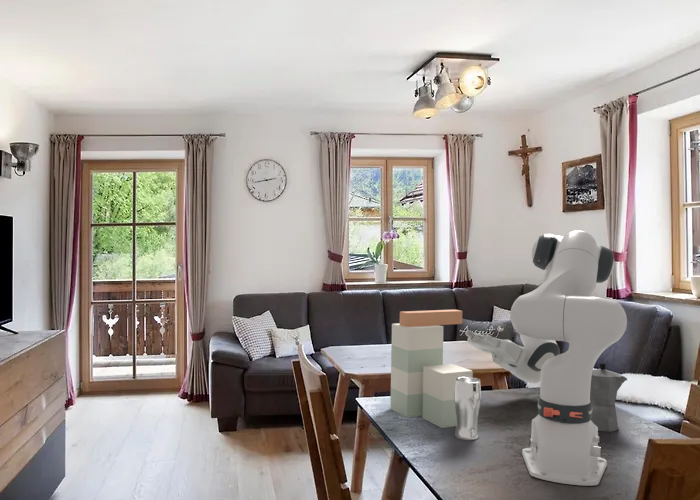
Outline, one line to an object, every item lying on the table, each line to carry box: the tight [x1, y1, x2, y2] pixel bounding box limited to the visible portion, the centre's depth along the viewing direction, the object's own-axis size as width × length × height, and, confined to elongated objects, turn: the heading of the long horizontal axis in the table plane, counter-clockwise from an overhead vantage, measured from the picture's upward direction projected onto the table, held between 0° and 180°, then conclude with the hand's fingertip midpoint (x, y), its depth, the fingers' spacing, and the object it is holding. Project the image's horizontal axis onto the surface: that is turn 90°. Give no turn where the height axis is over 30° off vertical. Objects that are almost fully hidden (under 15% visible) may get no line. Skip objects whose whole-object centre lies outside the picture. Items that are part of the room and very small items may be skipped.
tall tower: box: [389, 322, 444, 418], centre depth 178 cm, size 12×10×26 cm
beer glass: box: [454, 377, 482, 441], centre depth 155 cm, size 7×7×15 cm
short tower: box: [422, 363, 474, 429], centre depth 168 cm, size 10×10×15 cm
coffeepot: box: [590, 362, 628, 433], centre depth 166 cm, size 15×9×18 cm, turn 45°
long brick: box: [399, 309, 463, 327], centre depth 180 cm, size 20×4×4 cm, turn 115°
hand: (476, 334), depth 187 cm, fingers open, 8 cm apart
